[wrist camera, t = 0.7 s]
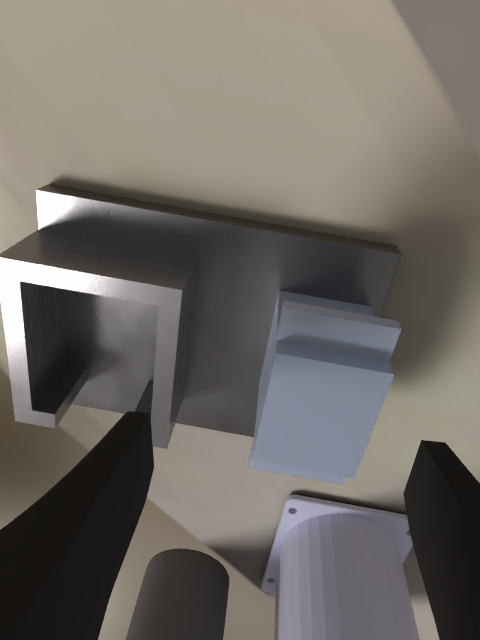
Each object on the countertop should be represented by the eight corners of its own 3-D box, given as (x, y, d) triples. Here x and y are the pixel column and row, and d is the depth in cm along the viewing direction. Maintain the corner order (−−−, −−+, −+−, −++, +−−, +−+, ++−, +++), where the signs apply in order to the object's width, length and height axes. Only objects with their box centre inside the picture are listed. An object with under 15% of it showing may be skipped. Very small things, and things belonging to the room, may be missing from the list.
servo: (332, 422, 23) (343, 505, 18) (253, 408, 23) (245, 487, 18) (380, 279, 19) (407, 341, 15) (284, 262, 19) (283, 319, 15)
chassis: (331, 438, 25) (339, 506, 21) (59, 388, 25) (16, 446, 21) (396, 245, 19) (422, 289, 15) (47, 184, 19) (-13, 212, 16)
